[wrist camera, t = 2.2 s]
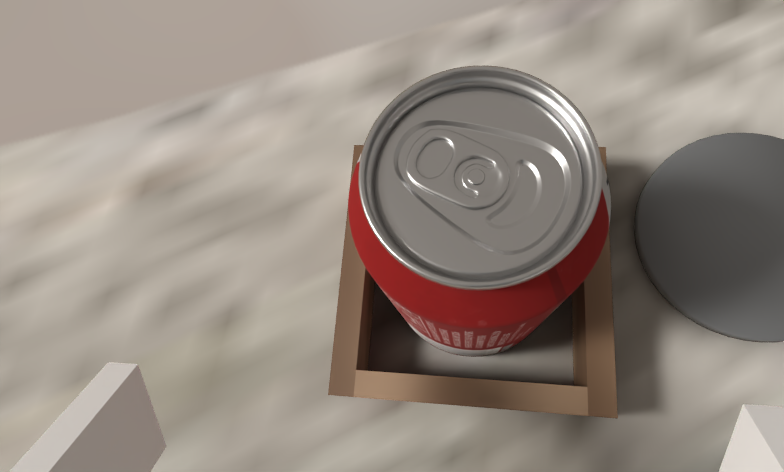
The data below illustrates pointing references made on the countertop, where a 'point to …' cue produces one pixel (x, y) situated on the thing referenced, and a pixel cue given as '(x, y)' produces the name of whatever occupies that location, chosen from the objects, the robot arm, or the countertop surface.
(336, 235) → the countertop surface
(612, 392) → the frame
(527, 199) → the soda can
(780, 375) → the countertop surface
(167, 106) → the countertop surface
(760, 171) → the coaster
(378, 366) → the countertop surface
